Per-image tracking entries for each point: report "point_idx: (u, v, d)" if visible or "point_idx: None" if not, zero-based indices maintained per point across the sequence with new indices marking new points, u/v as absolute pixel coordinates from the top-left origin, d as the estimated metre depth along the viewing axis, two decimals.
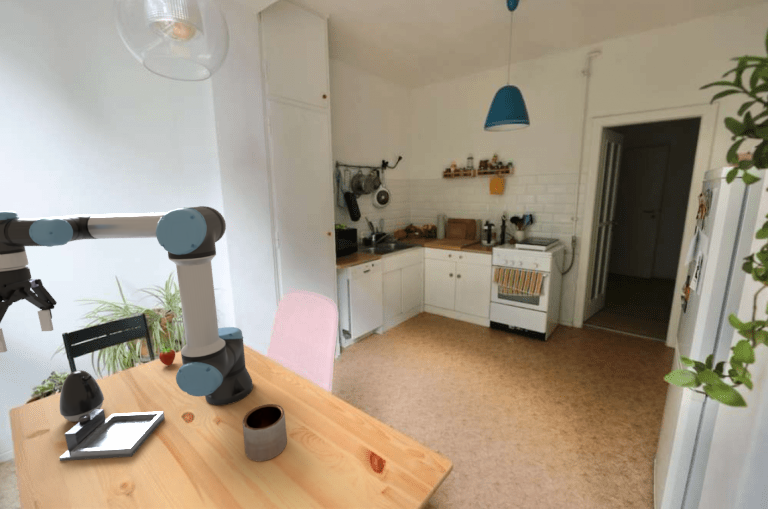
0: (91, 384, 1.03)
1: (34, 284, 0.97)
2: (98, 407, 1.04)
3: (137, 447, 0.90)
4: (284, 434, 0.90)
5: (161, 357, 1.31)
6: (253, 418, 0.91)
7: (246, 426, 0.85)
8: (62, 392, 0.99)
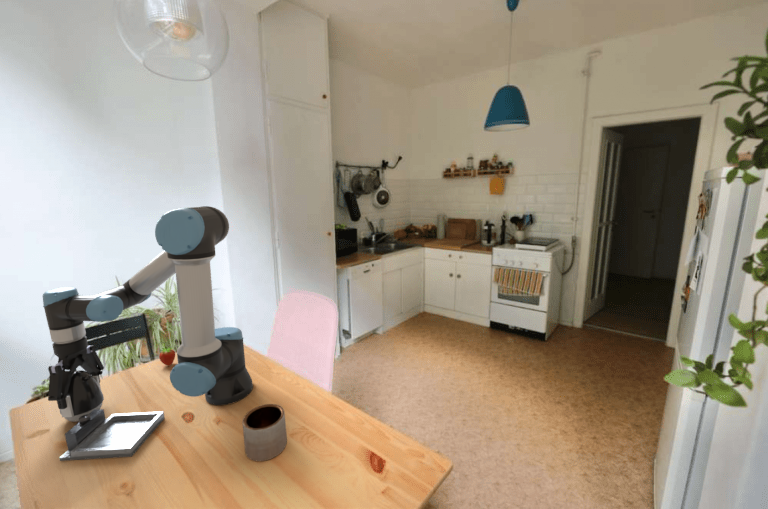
0: (91, 384, 1.03)
1: (89, 350, 1.06)
2: (98, 407, 1.04)
3: (137, 447, 0.90)
4: (284, 434, 0.90)
5: (161, 357, 1.31)
6: (253, 418, 0.91)
7: (246, 426, 0.85)
8: None
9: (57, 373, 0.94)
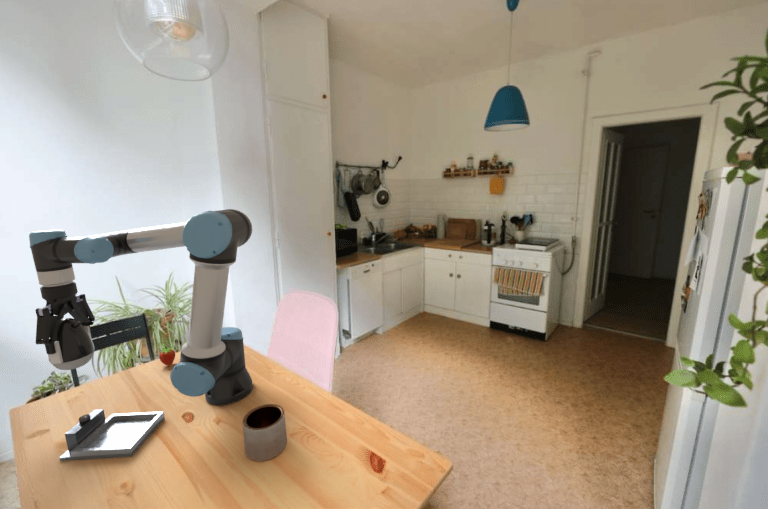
0: (81, 332, 0.99)
1: (79, 299, 1.03)
2: (88, 356, 1.01)
3: (137, 447, 0.90)
4: (284, 434, 0.90)
5: (161, 357, 1.31)
6: (253, 418, 0.91)
7: (246, 426, 0.85)
8: None
9: (45, 316, 0.91)
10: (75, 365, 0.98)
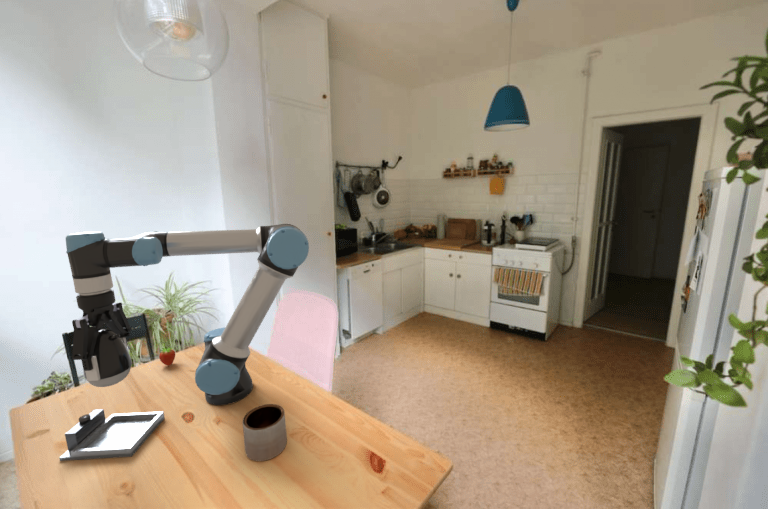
0: (119, 344, 0.90)
1: (115, 307, 0.93)
2: (126, 372, 0.91)
3: (137, 447, 0.90)
4: (284, 434, 0.90)
5: (161, 357, 1.31)
6: (253, 418, 0.91)
7: (246, 426, 0.85)
8: None
9: (82, 328, 0.81)
10: (113, 382, 0.88)
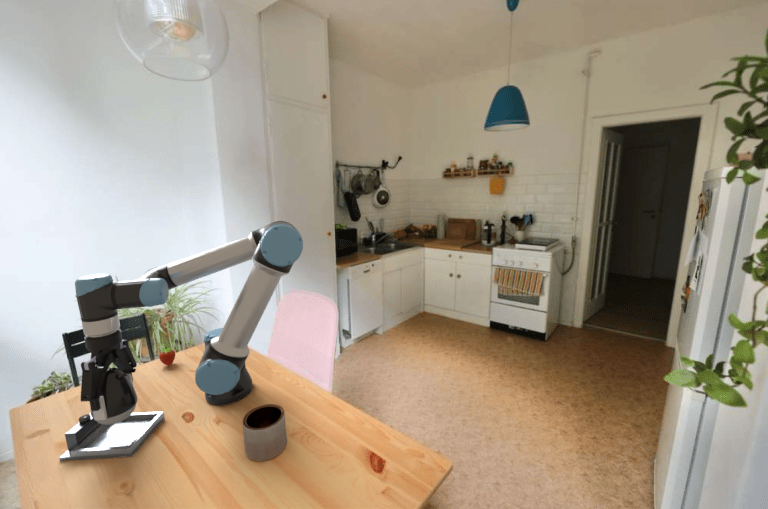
0: (125, 383, 0.92)
1: (122, 345, 0.95)
2: (132, 409, 0.93)
3: (137, 447, 0.90)
4: (284, 434, 0.90)
5: (161, 357, 1.31)
6: (253, 418, 0.91)
7: (246, 426, 0.85)
8: None
9: (90, 370, 0.83)
10: (119, 420, 0.90)
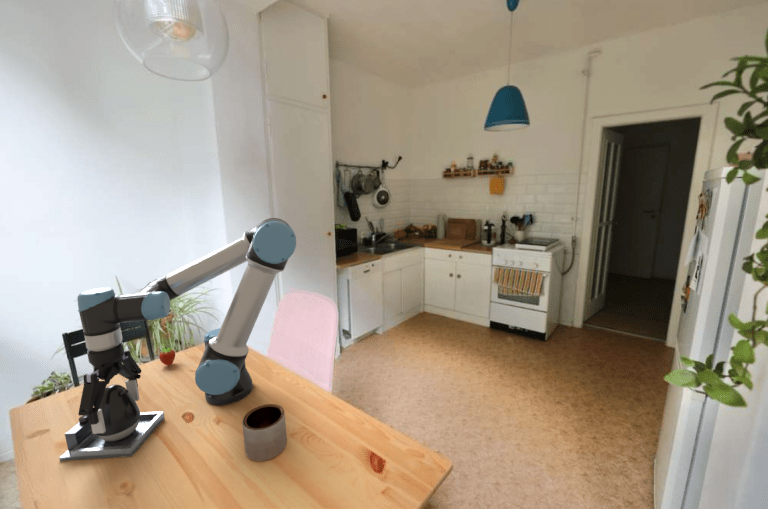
0: (128, 399, 0.93)
1: (124, 356, 0.96)
2: (136, 424, 0.94)
3: (137, 447, 0.90)
4: (284, 434, 0.90)
5: (161, 357, 1.31)
6: (253, 418, 0.91)
7: (246, 426, 0.85)
8: None
9: (92, 382, 0.84)
10: (123, 436, 0.92)
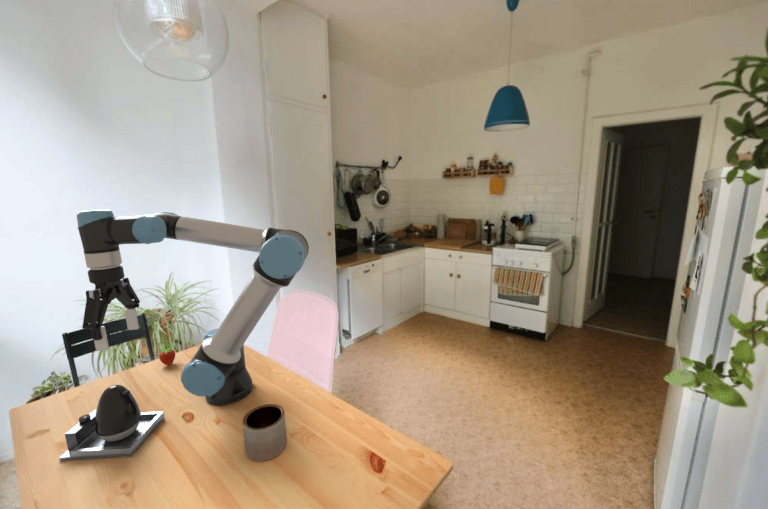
0: (129, 400, 0.93)
1: (123, 283, 0.97)
2: (136, 425, 0.94)
3: (137, 447, 0.90)
4: (284, 434, 0.90)
5: (161, 357, 1.31)
6: (253, 418, 0.91)
7: (246, 426, 0.85)
8: (98, 409, 0.89)
9: (95, 298, 0.85)
10: (123, 436, 0.92)
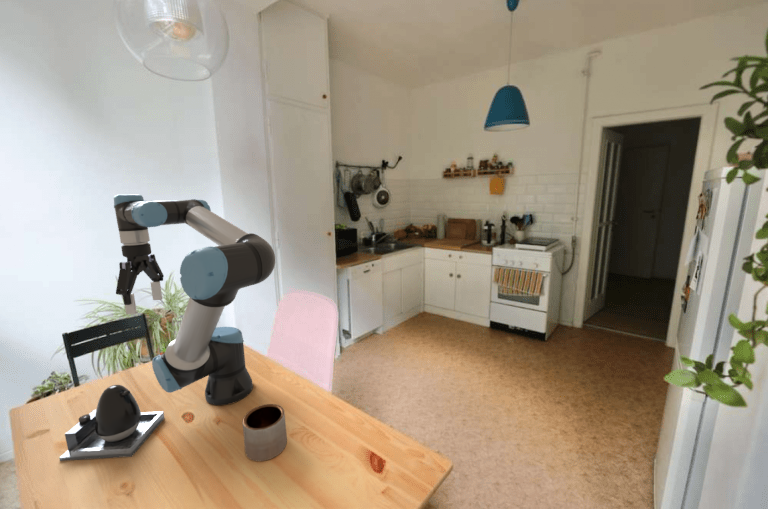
0: (129, 400, 0.93)
1: (150, 258, 1.13)
2: (136, 425, 0.94)
3: (137, 447, 0.90)
4: (284, 434, 0.90)
5: None
6: (253, 418, 0.91)
7: (246, 426, 0.85)
8: (98, 409, 0.89)
9: (127, 269, 1.01)
10: (123, 436, 0.92)
